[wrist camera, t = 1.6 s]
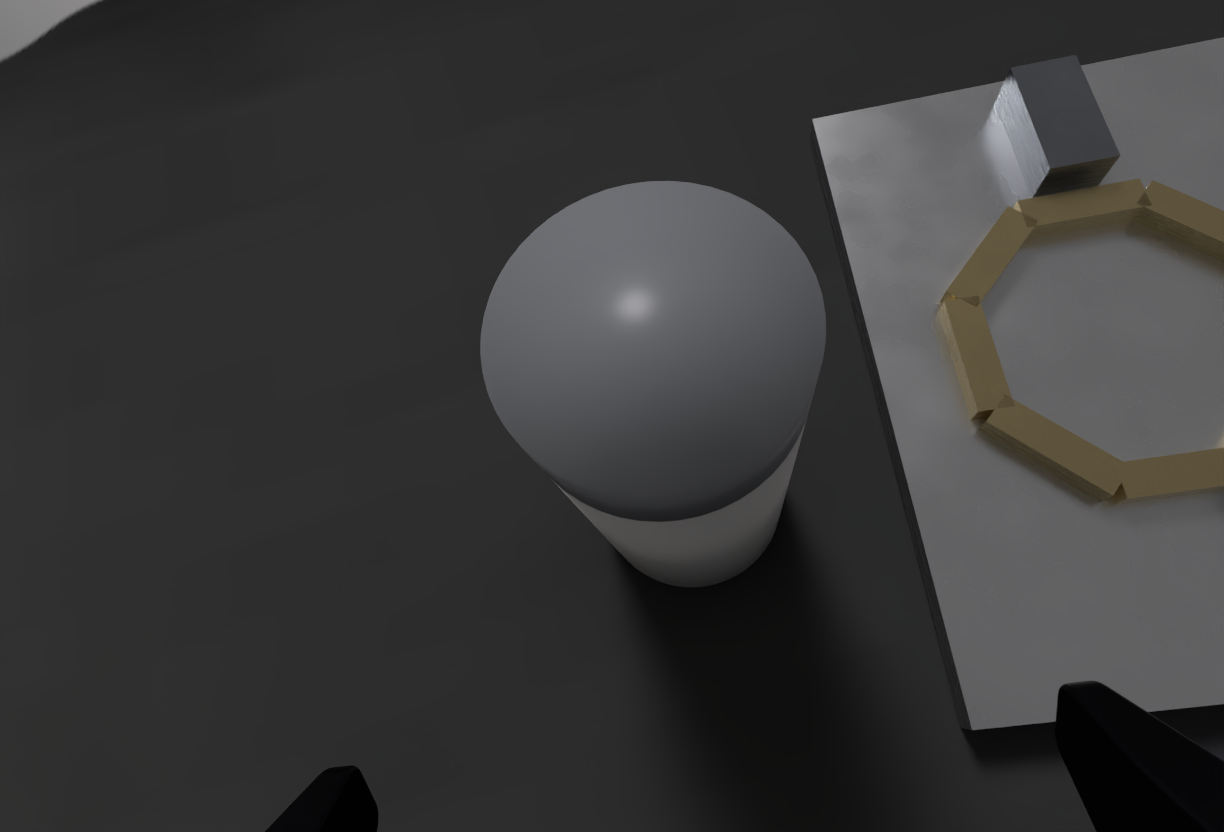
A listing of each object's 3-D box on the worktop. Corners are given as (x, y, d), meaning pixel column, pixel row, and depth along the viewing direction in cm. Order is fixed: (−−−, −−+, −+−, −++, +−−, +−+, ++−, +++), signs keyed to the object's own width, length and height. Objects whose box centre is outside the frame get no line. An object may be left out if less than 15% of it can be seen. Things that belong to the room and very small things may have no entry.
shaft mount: (1544, 666, 18) (1663, 665, 16) (961, 727, 20) (991, 734, 17) (1219, 58, 25) (1268, -5, 23) (809, 138, 27) (816, 87, 24)
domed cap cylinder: (797, 574, 22) (863, 465, 10) (612, 598, 22) (488, 519, 11) (763, 401, 24) (788, 152, 12) (594, 427, 24) (473, 214, 13)
